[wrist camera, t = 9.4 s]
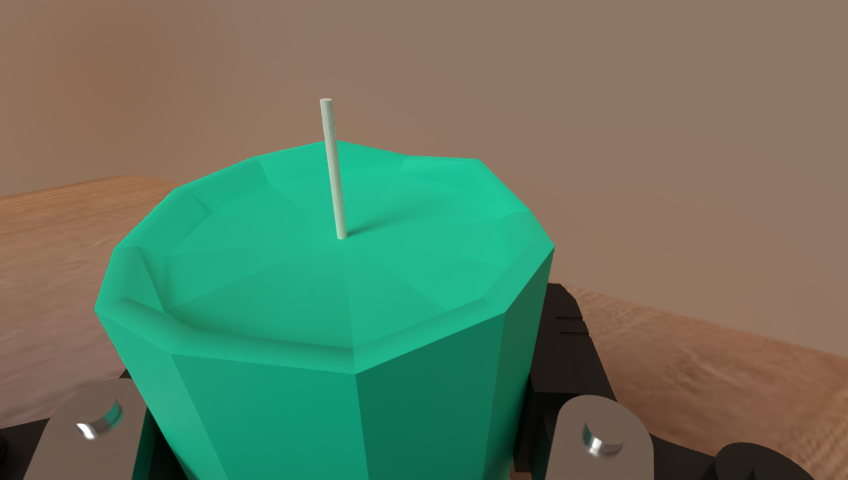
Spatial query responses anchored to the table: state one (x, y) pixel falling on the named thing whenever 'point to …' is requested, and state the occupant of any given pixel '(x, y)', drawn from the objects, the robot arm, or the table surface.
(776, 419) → the table surface
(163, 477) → the robot arm
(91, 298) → the table surface
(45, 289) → the table surface
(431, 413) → the candle
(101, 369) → the table surface
